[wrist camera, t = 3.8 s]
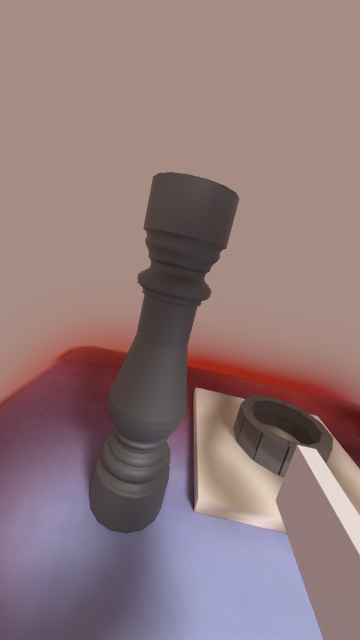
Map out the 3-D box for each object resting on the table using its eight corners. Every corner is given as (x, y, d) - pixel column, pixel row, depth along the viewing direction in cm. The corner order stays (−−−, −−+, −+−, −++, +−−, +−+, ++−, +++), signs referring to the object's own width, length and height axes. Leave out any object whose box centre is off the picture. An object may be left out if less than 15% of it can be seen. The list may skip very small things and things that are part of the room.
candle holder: (126, 551, 19) (218, 172, 13) (73, 495, 22) (128, 169, 16) (175, 496, 24) (256, 208, 18) (126, 457, 27) (182, 200, 21)
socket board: (314, 424, 42) (325, 396, 41) (417, 564, 23) (443, 519, 22) (193, 395, 42) (201, 367, 41) (194, 511, 23) (208, 464, 22)
